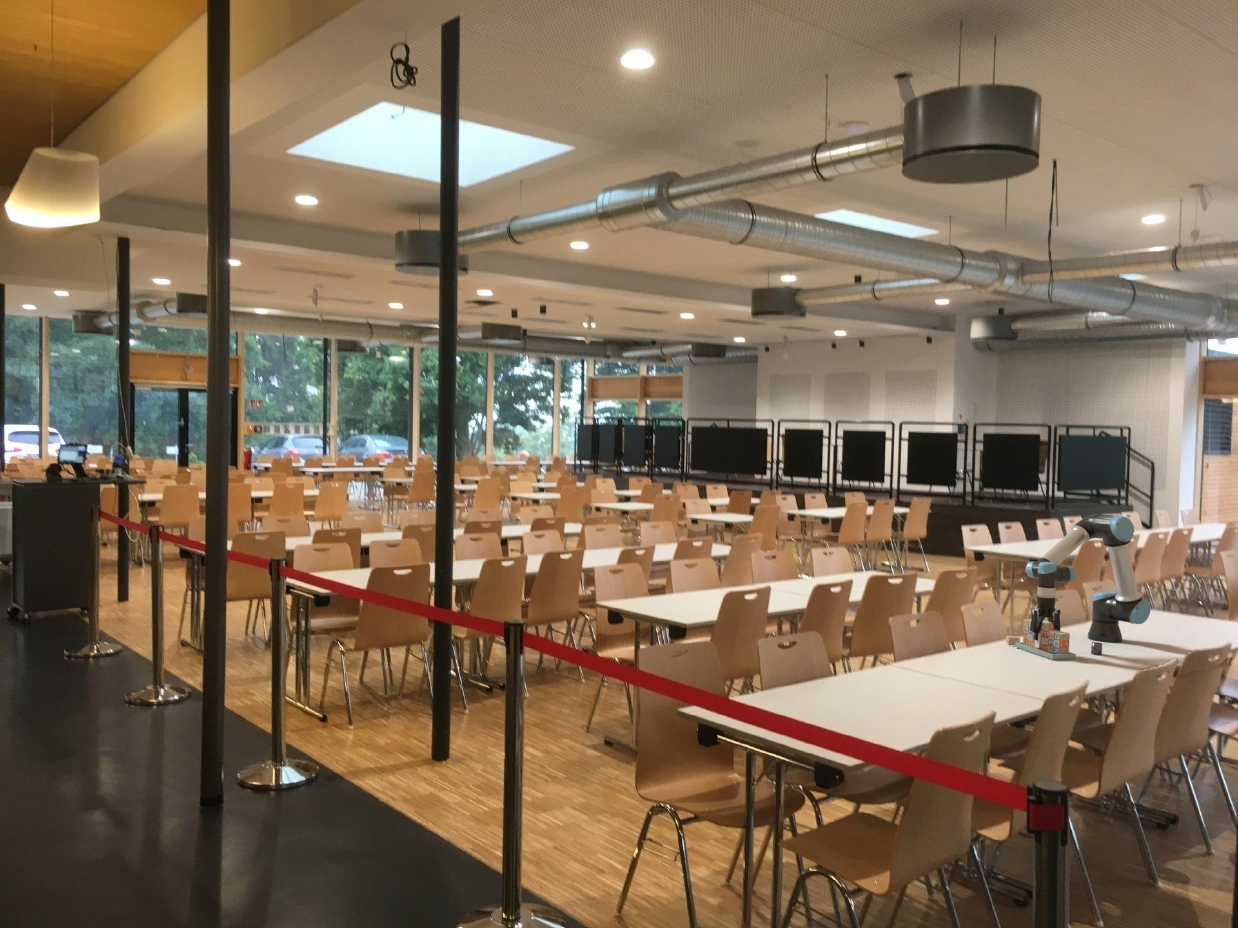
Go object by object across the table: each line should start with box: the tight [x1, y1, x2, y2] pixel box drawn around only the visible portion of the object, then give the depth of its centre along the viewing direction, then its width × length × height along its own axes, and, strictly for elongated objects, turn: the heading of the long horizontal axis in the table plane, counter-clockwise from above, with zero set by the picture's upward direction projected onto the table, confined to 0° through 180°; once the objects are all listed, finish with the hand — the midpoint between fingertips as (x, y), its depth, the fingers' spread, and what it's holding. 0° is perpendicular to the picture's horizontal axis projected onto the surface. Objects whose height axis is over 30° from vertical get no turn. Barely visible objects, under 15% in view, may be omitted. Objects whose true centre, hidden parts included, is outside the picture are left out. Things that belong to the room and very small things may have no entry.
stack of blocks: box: [1022, 618, 1071, 654], centre depth 443 cm, size 21×6×12 cm, turn 21°
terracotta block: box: [1005, 635, 1021, 646], centre depth 461 cm, size 5×4×4 cm
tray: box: [1014, 641, 1077, 661], centre depth 444 cm, size 12×27×2 cm, turn 13°
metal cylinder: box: [1090, 641, 1103, 656], centre depth 445 cm, size 4×4×5 cm
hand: (1044, 646), depth 444 cm, fingers closed on stack of blocks, 7 cm apart
